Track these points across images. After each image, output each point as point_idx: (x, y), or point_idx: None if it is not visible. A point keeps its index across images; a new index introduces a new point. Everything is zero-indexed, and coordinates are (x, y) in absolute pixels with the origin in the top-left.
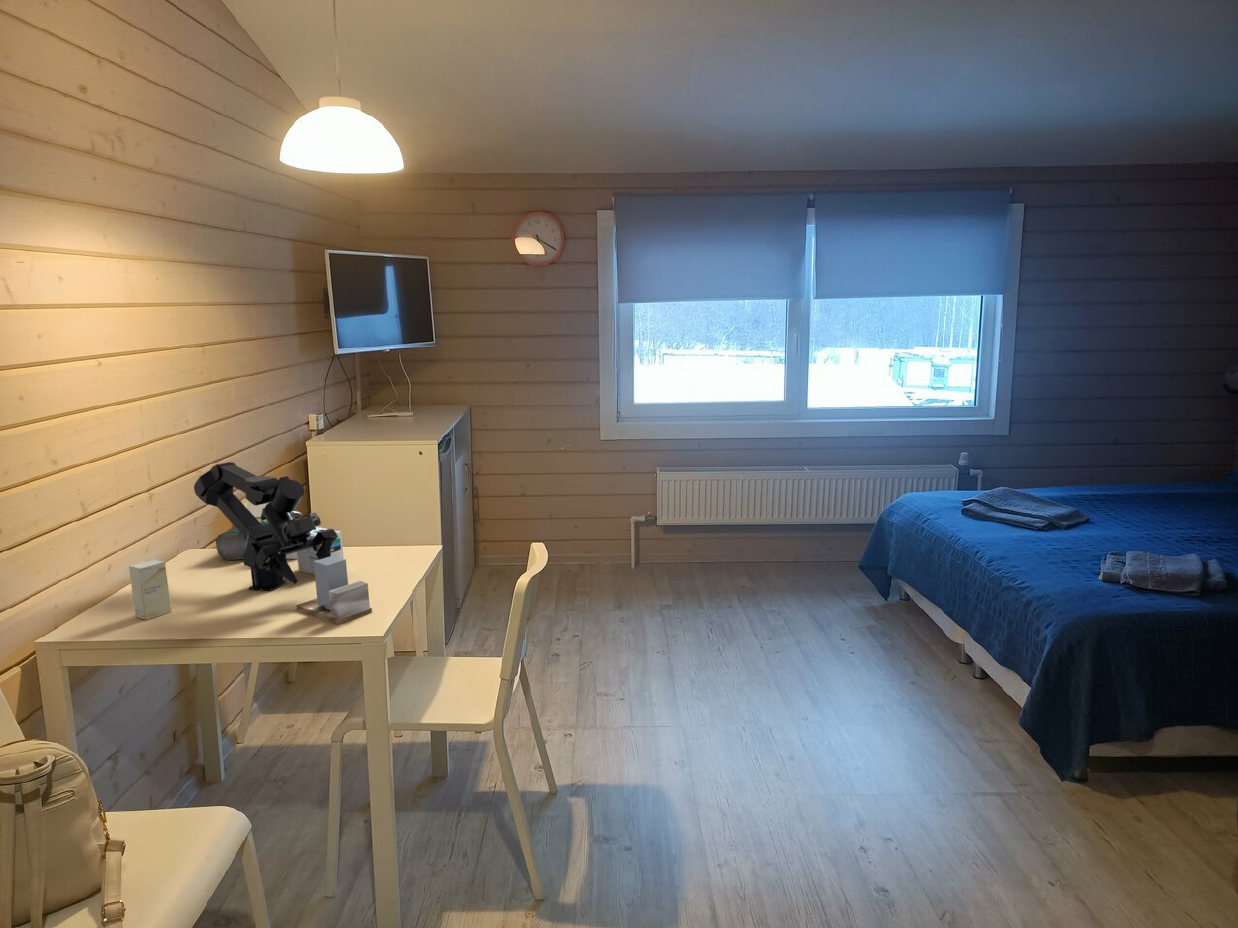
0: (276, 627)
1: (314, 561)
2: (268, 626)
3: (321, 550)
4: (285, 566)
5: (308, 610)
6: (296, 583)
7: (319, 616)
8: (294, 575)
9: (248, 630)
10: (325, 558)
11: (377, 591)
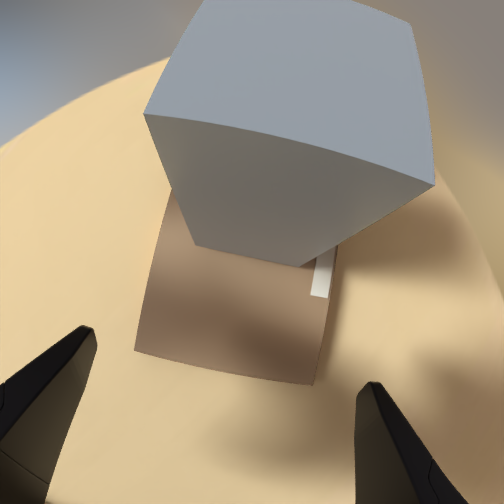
0: (447, 294)
1: (431, 170)
2: (451, 325)
3: (2, 491)
4: (441, 482)
5: (330, 289)
6: (362, 389)
7: None
8: (387, 414)
9: (481, 350)
10: (285, 116)
11: (32, 213)
